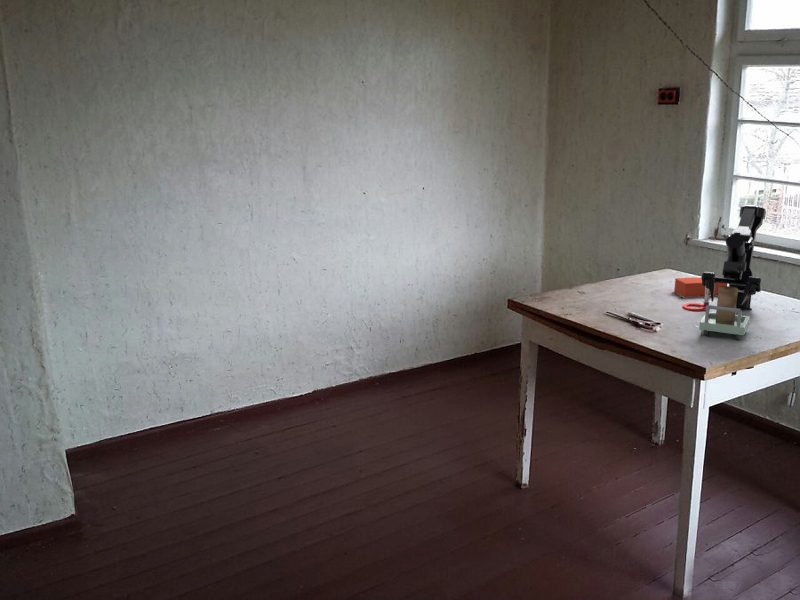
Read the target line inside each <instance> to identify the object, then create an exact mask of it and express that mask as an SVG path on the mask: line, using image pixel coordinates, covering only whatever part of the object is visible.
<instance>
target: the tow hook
mask: <svg viewBox="0 0 800 600" xmlns="http://www.w3.org/2000/svg"><path fill="white" fill-rule="evenodd" d="M708 291H709V289H708V288H706V286H705V296H703V299H704V301H703V303H698V302H688V303H684V304H683V305H682V309H684V310H686V311H691V312H699V311H700V312H701V311H706V306H707V305H710V302H709V300H710V296H709V295H708ZM692 306H693V307H692ZM695 306H696V307H695ZM710 310H711V309H709V311H710Z"/></svg>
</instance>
